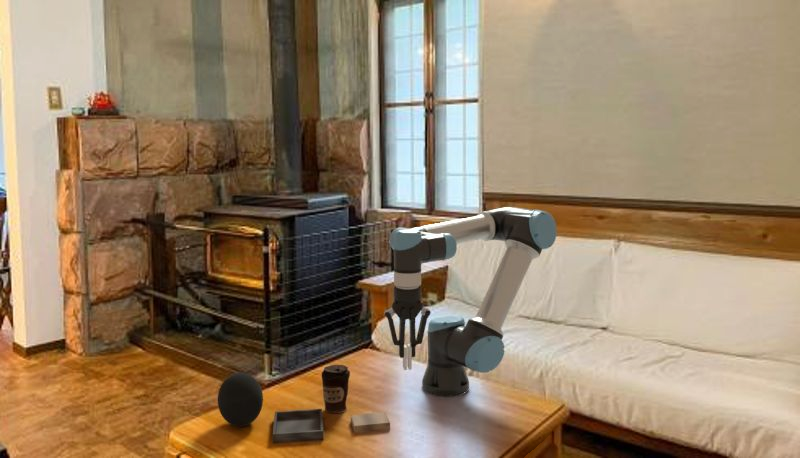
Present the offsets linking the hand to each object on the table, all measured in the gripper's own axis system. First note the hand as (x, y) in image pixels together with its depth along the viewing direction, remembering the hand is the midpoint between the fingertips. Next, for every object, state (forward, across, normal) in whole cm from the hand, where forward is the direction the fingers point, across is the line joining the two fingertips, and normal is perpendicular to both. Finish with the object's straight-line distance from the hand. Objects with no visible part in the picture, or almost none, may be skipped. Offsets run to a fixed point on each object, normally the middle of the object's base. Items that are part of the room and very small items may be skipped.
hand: (407, 367), depth 183 cm
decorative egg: (+17, +46, -6) cm, 50 cm away
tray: (+16, +30, 0) cm, 35 cm away
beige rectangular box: (+17, +10, 0) cm, 20 cm away
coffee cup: (+17, +20, -12) cm, 28 cm away
